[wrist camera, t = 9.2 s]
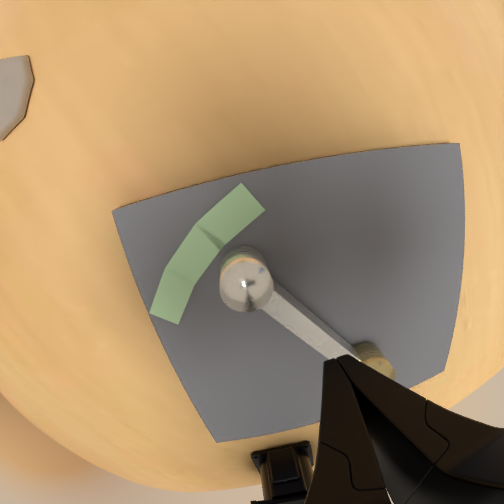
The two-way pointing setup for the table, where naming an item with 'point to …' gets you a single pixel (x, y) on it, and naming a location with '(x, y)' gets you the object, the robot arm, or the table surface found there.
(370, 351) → the lever
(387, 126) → the table surface
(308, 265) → the dial board
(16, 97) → the flask
